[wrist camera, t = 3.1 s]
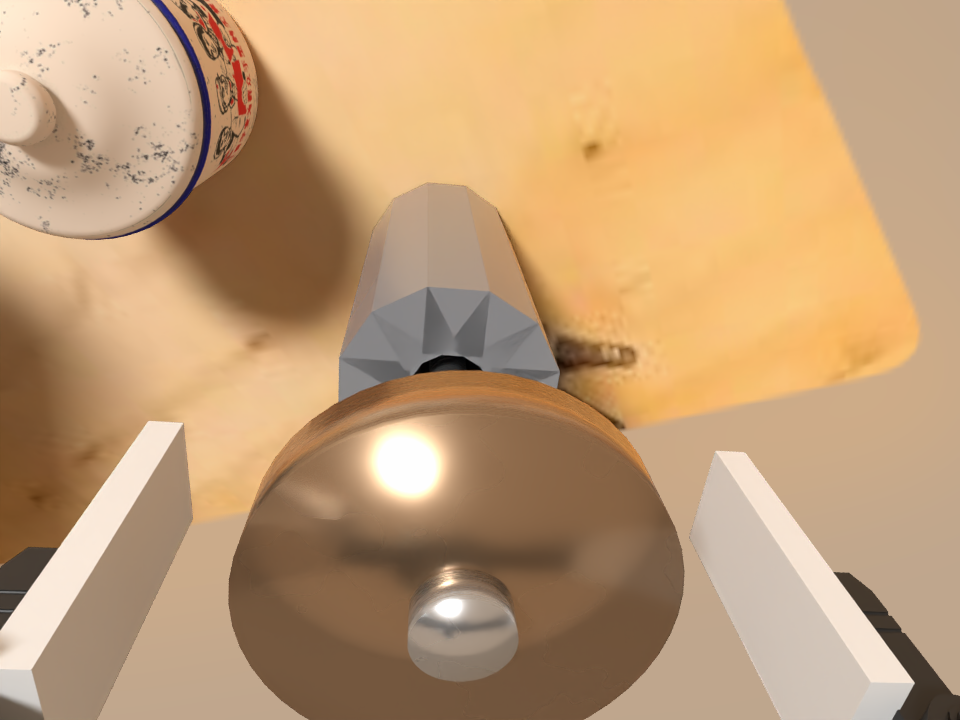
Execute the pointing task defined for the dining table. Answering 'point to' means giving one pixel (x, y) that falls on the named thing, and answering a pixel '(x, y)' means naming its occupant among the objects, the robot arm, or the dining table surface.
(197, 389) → the dining table surface
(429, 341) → the cylinder
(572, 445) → the plunger
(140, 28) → the teacup with lid
